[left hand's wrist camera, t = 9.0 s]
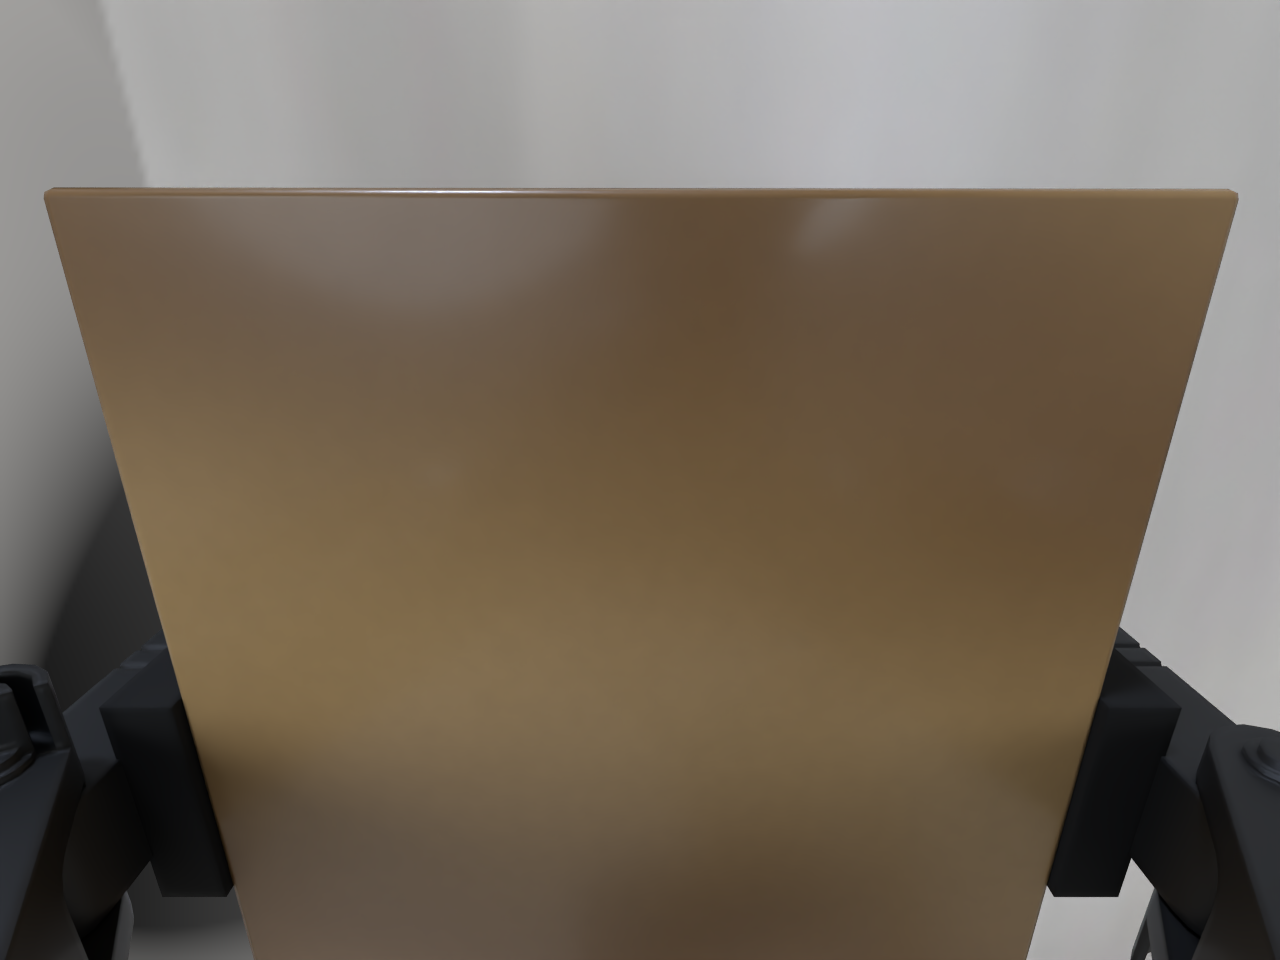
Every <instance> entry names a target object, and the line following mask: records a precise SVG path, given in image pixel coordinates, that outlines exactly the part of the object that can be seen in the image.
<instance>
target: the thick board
mask: <svg viewBox="0 0 1280 960" xmlns="http://www.w3.org/2000/svg"><path fill="white" fill-rule="evenodd" d="M44 201H45V204H46V208H47V211H48V215H49V219H50V222H51V226H52V230H53V233H54V237H55V241H56V244H57V248H58V252H59V255H60V259H61V262H62V266H63V270H64V273H65V277H66V280H67V284H68V288H69V291H70V295H71V299H72V302H73V306H74V309H75V313H76V317H77V320H78V324H79V327H80V331H81V335H82V338H83V342H84V345H85V349H86V353H87V356H88V360H89V364H90V367H91V371H92V375H93V378H94V382H95V385H96V389H97V393H98V396H99V400H100V403H101V407H102V411H103V414H104V418H105V422H106V425H107V429H108V432H109V436H110V440H111V443H112V447H113V451H114V454H115V458H116V461H117V465H118V469H119V472H120V476H121V479H122V483H123V487H124V490H125V494H126V497H127V501H128V505H129V508H130V512H131V516H132V519H133V523H134V526H135V530H136V534H137V537H138V541H139V544H140V548H141V552H142V555H143V559H144V563H145V566H146V570H147V574H148V577H149V581H150V584H151V588H152V592H153V595H154V599H155V603H156V606H157V610H158V613H159V617H160V621H161V624H162V628H163V631H164V635H165V639H166V642H167V646H168V650H169V653H170V657H171V660H172V664H173V668H174V671H175V675H176V679H177V682H178V686H179V689H180V693H181V697H182V700H183V704H184V707H185V711H186V715H187V718H188V722H189V726H190V729H191V733H192V736H193V740H194V744H195V747H196V751H197V754H198V758H199V762H200V765H201V769H202V773H203V776H204V780H205V783H206V787H207V791H208V794H209V798H210V802H211V805H212V809H213V812H214V816H215V820H216V823H217V827H218V830H219V834H220V838H221V841H222V845H223V849H224V852H225V856H226V859H227V863H228V867H229V870H230V874H231V878H232V881H233V885H234V888H235V892H236V896H237V899H238V903H239V906H240V910H241V914H242V917H243V921H244V925H245V928H246V932H247V935H248V939H249V943H250V946H251V950H252V953H253V957H254V960H1026V958H1027V954H1028V951H1029V947H1030V944H1031V940H1032V936H1033V933H1034V929H1035V926H1036V922H1037V919H1038V915H1039V911H1040V908H1041V904H1042V901H1043V897H1044V894H1045V890H1046V886H1047V883H1048V879H1049V876H1050V872H1051V868H1052V865H1053V861H1054V858H1055V854H1056V851H1057V847H1058V843H1059V840H1060V836H1061V833H1062V829H1063V826H1064V822H1065V818H1066V815H1067V811H1068V808H1069V804H1070V801H1071V797H1072V793H1073V790H1074V786H1075V783H1076V779H1077V775H1078V772H1079V768H1080V765H1081V761H1082V758H1083V754H1084V750H1085V747H1086V743H1087V740H1088V736H1089V733H1090V729H1091V725H1092V722H1093V718H1094V715H1095V711H1096V708H1097V704H1098V700H1099V697H1100V693H1101V690H1102V686H1103V682H1104V679H1105V675H1106V672H1107V668H1108V665H1109V661H1110V657H1111V654H1112V650H1113V647H1114V643H1115V640H1116V636H1117V632H1118V629H1119V625H1120V622H1121V618H1122V614H1123V611H1124V607H1125V604H1126V600H1127V597H1128V593H1129V589H1130V586H1131V582H1132V579H1133V575H1134V572H1135V568H1136V564H1137V561H1138V557H1139V554H1140V550H1141V547H1142V543H1143V539H1144V536H1145V532H1146V529H1147V525H1148V521H1149V518H1150V514H1151V511H1152V507H1153V504H1154V500H1155V496H1156V493H1157V489H1158V486H1159V482H1160V479H1161V475H1162V471H1163V468H1164V464H1165V461H1166V457H1167V454H1168V450H1169V446H1170V443H1171V439H1172V436H1173V432H1174V428H1175V425H1176V421H1177V418H1178V414H1179V411H1180V407H1181V403H1182V400H1183V396H1184V393H1185V389H1186V386H1187V382H1188V378H1189V375H1190V371H1191V368H1192V364H1193V361H1194V357H1195V353H1196V350H1197V346H1198V343H1199V339H1200V335H1201V332H1202V328H1203V325H1204V321H1205V318H1206V314H1207V310H1208V307H1209V303H1210V300H1211V296H1212V293H1213V289H1214V285H1215V282H1216V278H1217V275H1218V271H1219V268H1220V264H1221V260H1222V257H1223V253H1224V250H1225V246H1226V242H1227V239H1228V235H1229V232H1230V228H1231V225H1232V221H1233V217H1234V214H1235V210H1236V207H1237V203H1238V193H1236V192H1234V191H1231V190H1229V189H821V188H52V189H50V190H48V191H46V192H44Z"/></svg>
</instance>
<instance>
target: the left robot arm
mask: <svg viewBox="0 0 1280 960" xmlns="http://www.w3.org/2000/svg"><path fill="white" fill-rule="evenodd" d="M1139 645H1140V644H1139V643H1138V642H1137V641H1136V640H1135V639H1133V638H1132V637H1131V636H1130V635H1129V634H1127V633H1126V632H1125V631H1124V630H1123V629H1121V628H1120V627H1119V629H1118V632H1117V636H1116V640H1115V643H1114V647H1113V650H1112V654H1111V657H1110V661H1109V665H1108V668H1107V672H1106V675H1105V679H1104V682H1103V686H1102V690H1101V693H1100V697H1099V700H1098V704H1097V708H1096V711H1095V715H1094V718H1093V722H1092V725H1091V729H1090V733H1089V736H1088V740H1087V743H1086V747H1085V750H1084V754H1083V758H1082V761H1081V765H1080V768H1079V772H1078V775H1077V779H1076V783H1075V786H1074V790H1073V793H1072V797H1071V801H1070V804H1069V808H1068V811H1067V815H1066V818H1065V822H1064V826H1063V829H1062V833H1061V836H1060V840H1059V843H1058V847H1057V851H1056V854H1055V858H1054V861H1053V865H1052V868H1051V872H1050V876H1049V879H1048V883H1047V886H1048V888H1049V889H1050V891H1051V893H1052V894H1053V896H1054V897H1118V896H1119V893H1120V890H1121V887H1122V884H1123V881H1124V878H1125V875H1126V872H1127V869H1128V866H1129V863H1130V860H1131V858H1132V859H1133V860H1134V862H1135V863H1136V864H1137V866H1138V867H1139V868H1140V869H1141V871H1142V872H1143V873H1144V875H1145V876H1146V877H1147V878H1148V880H1149V881H1150V882H1151V884H1152V885H1153V886H1154V887H1155V888H1154V891H1153V893H1152V896H1151V899H1150V902H1149V905H1148V907H1147V910H1146V913H1145V916H1144V918H1143V921H1142V924H1141V927H1140V929H1139V932H1138V935H1137V938H1136V941H1135V943H1134V946H1133V949H1132V954H1131V959H1130V960H1145V958H1146V955H1147V953H1149V952H1151V954H1152V960H1280V732H1278V731H1275V730H1272V729H1267V728H1262V727H1256V726H1250V725H1245V724H1242V725H1236V724H1235V723H1234V722H1232V721H1231V720H1230V719H1229V718H1228V717H1226V716H1225V715H1224V714H1223V713H1222V712H1221V711H1219V710H1218V709H1217V708H1216V707H1215V706H1213V705H1212V704H1211V703H1210V702H1209V701H1207V700H1206V699H1205V698H1204V697H1203V696H1201V695H1200V694H1199V693H1198V692H1197V691H1195V690H1194V689H1193V688H1192V687H1191V686H1189V685H1188V684H1187V683H1186V682H1185V681H1183V680H1182V679H1181V678H1180V677H1179V676H1178V675H1176V674H1175V673H1174V672H1173V671H1172V670H1170V669H1169V668H1168V667H1167V666H1161V661H1160V660H1158V659H1157V658H1156V657H1155V656H1154V655H1152V654H1151V653H1150V652H1149V651H1148V650H1146V649H1145V648H1140V646H1139ZM149 861H151V864H152V867H153V870H154V873H155V876H156V879H157V882H158V885H159V888H160V891H161V894H162V896H163V897H227V895H228V893H229V892H230V890H231V889H232V887H233V881H232V878H231V874H230V870H229V867H228V863H227V859H226V856H225V852H224V849H223V845H222V841H221V838H220V834H219V830H218V827H217V823H216V820H215V816H214V812H213V809H212V805H211V802H210V798H209V794H208V791H207V787H206V783H205V780H204V776H203V773H202V769H201V765H200V762H199V758H198V754H197V751H196V747H195V744H194V740H193V736H192V733H191V729H190V726H189V722H188V718H187V715H186V711H185V707H184V704H183V700H182V697H181V693H180V689H179V686H178V682H177V679H176V675H175V671H174V668H173V664H172V660H171V657H170V653H169V650H168V646H167V642H166V639H165V635H164V631H163V629H162V630H160V631H159V632H158V633H157V634H156V635H154V636H153V637H152V638H151V639H150V640H148V641H147V642H146V643H145V644H144V645H143V646H142V649H141V650H137V651H135V652H134V653H133V654H132V655H131V656H129V657H128V658H127V659H126V660H125V661H124V662H122V663H121V664H120V669H114V670H113V671H112V672H111V673H109V674H108V675H107V676H106V677H105V678H103V679H102V680H101V681H100V682H99V683H98V684H96V685H95V686H94V687H93V688H92V689H90V690H89V691H88V692H87V693H86V694H84V695H83V696H82V697H81V698H80V699H79V700H77V701H76V702H75V703H74V704H73V705H71V706H70V707H69V708H68V709H67V710H66V711H64V712H63V713H62V711H61V708H60V705H59V702H58V700H57V697H56V694H55V691H54V688H53V686H52V683H51V680H50V678H49V675H48V672H47V671H45V670H44V669H42V668H40V667H38V666H36V665H26V664H9V665H2V666H0V960H128V956H129V949H130V942H131V935H132V928H133V921H134V917H133V911H132V905H131V902H130V899H129V896H128V893H127V889H128V888H129V887H130V886H131V884H132V883H133V882H134V880H135V879H136V878H137V877H138V875H139V874H140V873H141V871H142V870H143V869H144V867H145V866H146V865H147V864H148V862H149Z"/></svg>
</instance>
